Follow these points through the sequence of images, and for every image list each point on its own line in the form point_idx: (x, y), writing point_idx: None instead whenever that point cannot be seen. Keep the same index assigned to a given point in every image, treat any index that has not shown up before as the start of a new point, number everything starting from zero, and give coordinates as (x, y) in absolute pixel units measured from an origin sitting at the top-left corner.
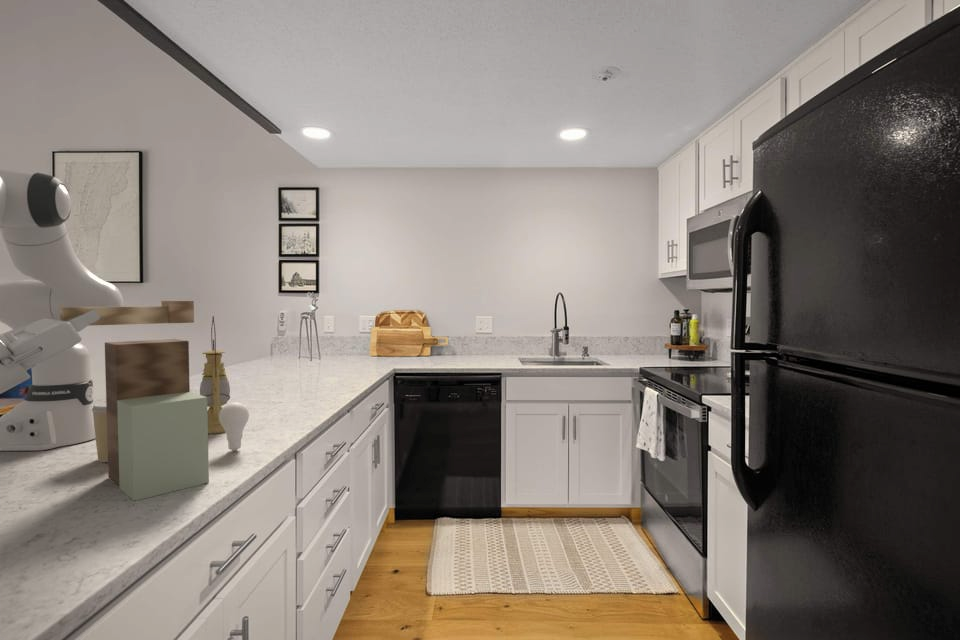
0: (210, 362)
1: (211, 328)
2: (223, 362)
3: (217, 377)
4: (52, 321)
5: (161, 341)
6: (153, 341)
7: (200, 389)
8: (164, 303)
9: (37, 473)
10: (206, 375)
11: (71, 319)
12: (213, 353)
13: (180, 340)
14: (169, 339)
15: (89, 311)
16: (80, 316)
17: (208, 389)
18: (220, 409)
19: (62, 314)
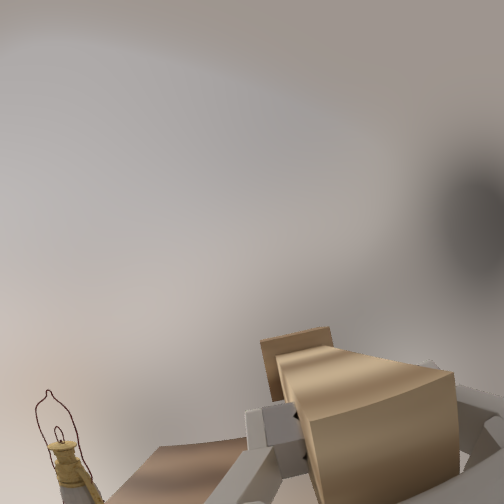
0: (67, 461)
1: (35, 408)
2: (77, 457)
3: (92, 482)
4: (498, 481)
5: (216, 458)
6: (196, 465)
7: (69, 501)
8: (287, 343)
9: None
10: (72, 481)
11: (501, 410)
12: (70, 448)
13: (221, 443)
14: (163, 450)
15: (436, 367)
16: (473, 391)
17: (84, 500)
18: None
19: (424, 437)
